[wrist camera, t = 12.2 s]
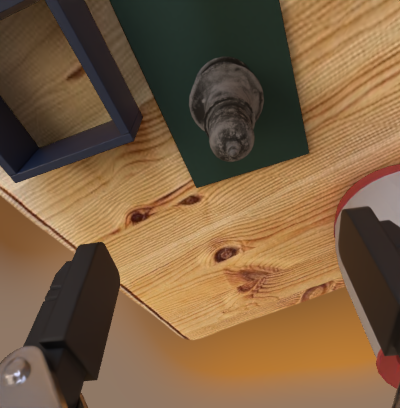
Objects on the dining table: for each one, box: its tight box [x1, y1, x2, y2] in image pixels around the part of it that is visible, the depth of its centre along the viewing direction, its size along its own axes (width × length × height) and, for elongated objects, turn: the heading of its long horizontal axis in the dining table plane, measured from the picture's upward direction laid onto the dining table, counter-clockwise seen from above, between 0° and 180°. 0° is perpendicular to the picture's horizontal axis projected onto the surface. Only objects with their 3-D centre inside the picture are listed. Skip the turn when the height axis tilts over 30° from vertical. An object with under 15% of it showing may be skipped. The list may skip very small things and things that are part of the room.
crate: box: [0, 0, 143, 183], centre depth 27 cm, size 12×12×5 cm
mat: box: [110, 0, 309, 188], centre depth 28 cm, size 20×12×1 cm, turn 21°
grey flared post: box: [189, 57, 264, 162], centre depth 24 cm, size 6×6×12 cm
